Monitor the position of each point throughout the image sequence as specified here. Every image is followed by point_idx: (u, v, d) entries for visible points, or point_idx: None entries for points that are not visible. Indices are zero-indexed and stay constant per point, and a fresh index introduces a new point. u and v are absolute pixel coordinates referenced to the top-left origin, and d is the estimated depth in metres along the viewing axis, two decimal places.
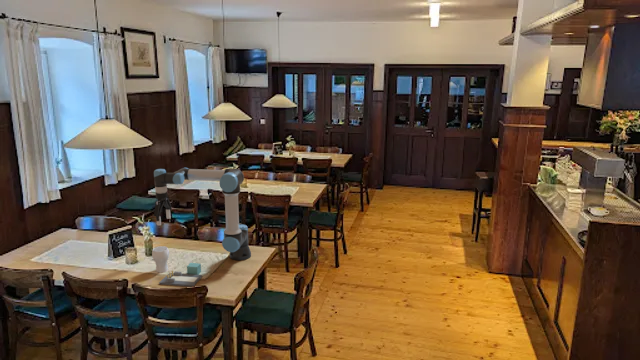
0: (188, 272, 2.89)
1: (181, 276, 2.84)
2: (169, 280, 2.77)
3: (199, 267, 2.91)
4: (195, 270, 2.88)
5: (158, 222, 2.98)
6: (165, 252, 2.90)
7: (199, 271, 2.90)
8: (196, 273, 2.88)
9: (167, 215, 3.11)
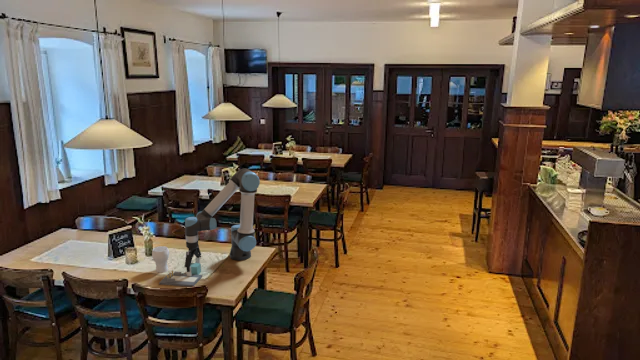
0: None
1: (181, 276, 2.84)
2: (169, 280, 2.77)
3: (199, 267, 2.91)
4: (195, 270, 2.88)
5: (188, 273, 2.83)
6: (165, 252, 2.90)
7: (199, 271, 2.90)
8: (196, 273, 2.88)
9: None
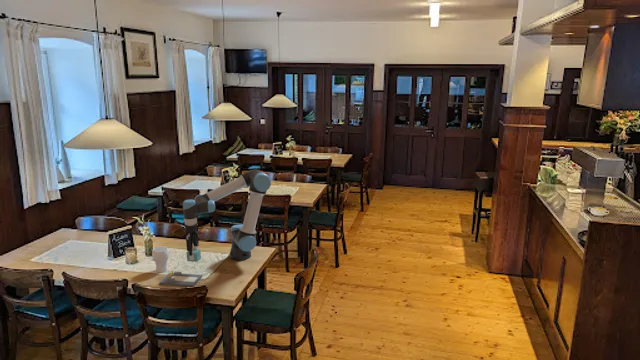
0: (188, 258, 2.87)
1: (181, 276, 2.84)
2: (169, 280, 2.77)
3: (199, 253, 2.89)
4: (195, 256, 2.85)
5: (191, 256, 2.85)
6: (165, 252, 2.90)
7: (198, 257, 2.88)
8: (196, 259, 2.86)
9: None
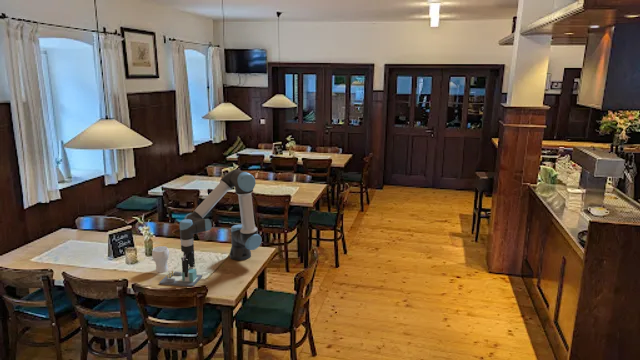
0: (183, 278, 2.77)
1: (181, 276, 2.84)
2: (169, 280, 2.77)
3: (195, 273, 2.80)
4: (190, 276, 2.76)
5: (186, 278, 2.76)
6: (165, 252, 2.90)
7: (194, 277, 2.79)
8: (191, 279, 2.77)
9: None
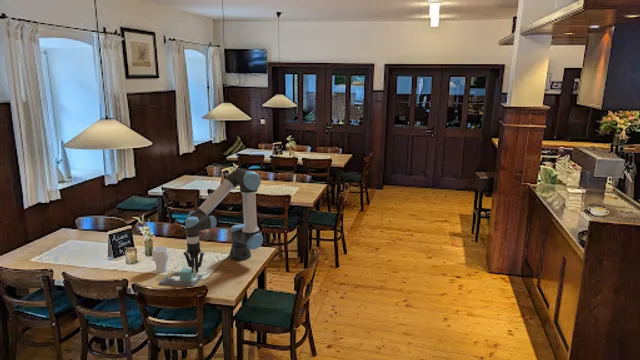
0: (181, 278, 2.77)
1: None
2: (169, 280, 2.77)
3: None
4: (188, 276, 2.76)
5: None
6: (165, 252, 2.90)
7: (192, 277, 2.79)
8: (189, 279, 2.77)
9: None
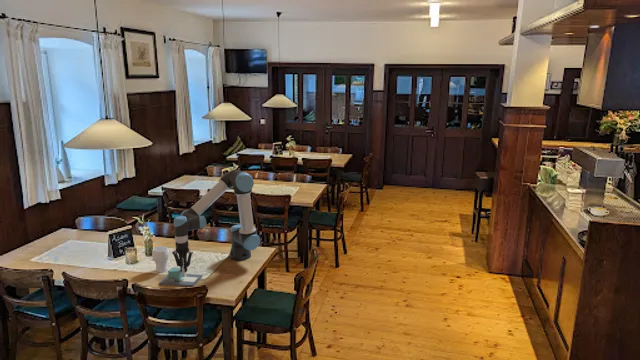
0: (169, 277, 2.78)
1: None
2: (169, 280, 2.77)
3: (181, 272, 2.81)
4: (177, 275, 2.77)
5: None
6: (165, 252, 2.90)
7: (180, 276, 2.80)
8: (178, 278, 2.78)
9: None
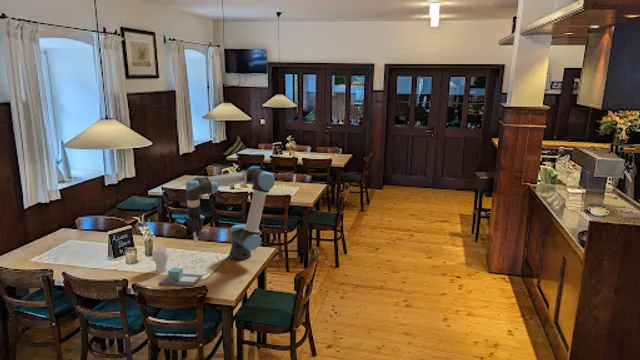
0: (169, 277, 2.78)
1: None
2: (169, 280, 2.77)
3: (181, 272, 2.81)
4: (177, 275, 2.77)
5: None
6: (165, 252, 2.90)
7: (180, 276, 2.80)
8: (178, 278, 2.78)
9: None
